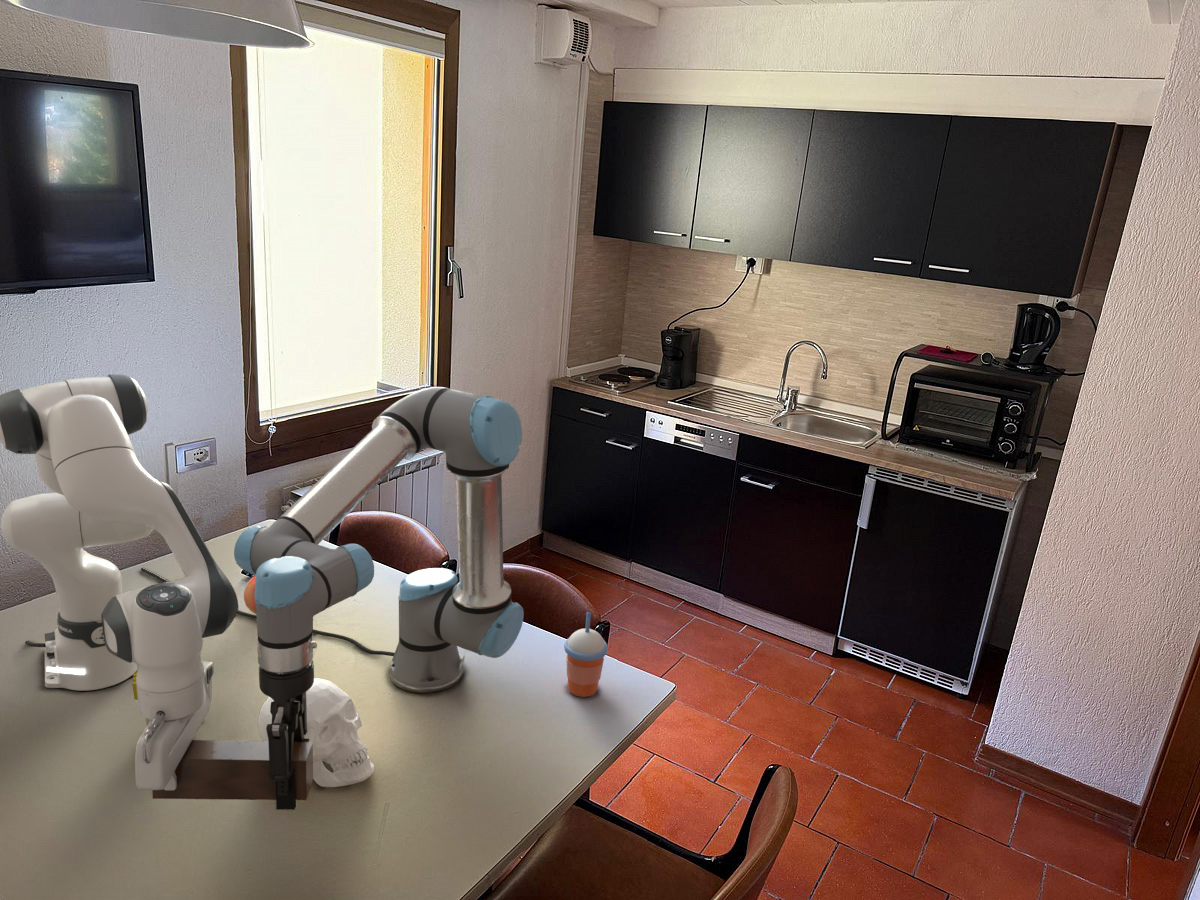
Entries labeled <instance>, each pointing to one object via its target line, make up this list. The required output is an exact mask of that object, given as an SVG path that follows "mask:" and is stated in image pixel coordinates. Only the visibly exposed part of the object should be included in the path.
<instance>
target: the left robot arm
mask: <svg viewBox="0 0 1200 900" xmlns="http://www.w3.org/2000/svg"><path fill="white" fill-rule="evenodd" d="M148 405H149V404H148V400H147V396H146V394H145V392H144V390H143V389H142V387H141V386H140V385H139V383H138V381H137V380H135V378H133V377H131V376H130V375H126V374H108V375H107V376H86V377H78V378H77V377H76V378H70V379H69V378H68V379H67V378H66V379H64V380H62V381H55V382H51V383H45V384H40V385H36V386H31V387H28V388H25V389H22V390H21V389H20V388H17V389H13V390H10V391H9V390H8V391H7V392H4V393H1V394H0V443H1V444H2V445H3V446H4V448H5V450H7V451H8V452H9V451H10V452H12V453H13V454H16V455H17V454H18V455H34V456H35V462H36V466H37V467H36V468H37V471H38V476H39V478H40V480H41V481H42V482H43V484H44V485H45V486H46V487H47V488H48V489H50V490H51V491H52V492H47V493H38V494H33V495H29V496H25V497H22V498H18V499H14V500H12V501H11V502H10V503H9V504H8V505H7V506H6V508H4V509H5V510H4V511H3V512H2V515H1V519H0V530H1V533H2V536H3V538H4V540H5V541H6V543H7V544H8V545H9V546H10V547H11V548H13V549H14V550H15V551H18V552H21V553H23V554H25V555H27V556H28V557H31V558H32V559H33V560H36V561H37V563H39V564H40V565H41V567H43V568H44V569H45V570H46V571H47V573H48V574H49V576H50V577H51V580H52V582H53V586H54V589H55V595H56V599H57V604H58V613H57V618H56V624H57V627H56V629H55V630H54V631H53V632H47V633H44V642H32V641H30V640H28V641H27V640H25V642H24V644H25V645H26V646H29V647H31V648H45V649H44V687H45V688H47V689H66V690H71V691H83V692H85V691H95V690H101V689H104V688H105V689H106V688H109V687H111V686H115V685H117V684H120V683H122V682H124V681H126V680H127V679H129V678H130V677H133V674H135V673H136V672H137V671H138V672H137V678H136V687H137V697H138V700H137V705H138V712H139V714H140V715H141V717H143V718H145V719H146V718H147V719H149V720H151V721H150V722H149V724H148V726H147V725H146V727H145V728H144V730H143V731H142V733H141V734H140V736H139V738H138V740H137V742H136V746H135V753H134V754H135V755H134V773H135V775H134V776H135V786H136V787H137V788H138V789H139V790H140V791H152V790H162V789H164V790H175V789H176V787H177V785H178V783H179V774H175V770H176V767H177V766H178V764H179V762H180V760H181V759H182V757H183V755H184V753H185V752H186V750H187V748H188V746H189V745H190V743H191V741H192V740H196V734H197V732H198V731H199V729H200V727H201V725H202V723H203V722H204V720H205V718H206V717H207V714H208V713H209V711H210V708H211V705H212V700H213V698H212V697H213V681H212V680H213V679H212V677H213V676H214V673H215V665H214V662H213V661H208V660H207V661H206V660H202V658H201V654H202V649H203V639H204V638H210V637H215V636H218V635H219V636H220V635H222V634H224V633H225V632H226V631H227V630H228V628H229V627H230V626H231V625H232V623H233V621H234V620H235V619H236V616H237V615H238V614H237V612H238V610H239V601H238V595H237V593H236V591H235V588H234V586H233V585H232V583H231V581H230V580H229V579H228V577H227V576H226V574H225V573H224V572H223V571H222V569H221V567H220V566H219V565H218V564H217V561H216V560H215V558H214V557H213V555H212V554H211V552H210V549H209V548H208V546H207V544H206V543H205V540H204V539H203V537H202V535H201V534H200V532H199V530H198V528H197V526H196V525H195V523H194V521H193V520H192V518H191V516H190V514H189V512H188V510H187V509H186V507H185V505H184V504H183V502H182V501H181V499H180V497H179V496H178V495H177V493H176V492H175V490H174V489H173V488H172V486H170V484H168V483H166V482H164V481H161V480H158V479H156V478H155V477H154V476H152V475H151V474H150V473H149V472H148V471H147V470H146V469H145V468H144V467H143V466H142V464H141V463H140V461H139V459H138V458H137V455H136V451H135V449H134V447H133V444H132V441H131V439H130V436H129V435H132V434H134V433H136V432H139V431H140V430H141V431H142V429H143V428H144V426H145V425H146V423H147V420H148V419H147V418H148V412H149V411H148V410H149V409H148V408H149V406H148ZM153 531H156V532H157V533H158V534H160V535H161V536H162V537H163V540H164V541H165V543H166V545H167V546H168V547H169V550H170V551H171V553H172V555H173V557H174V558H175V560H176V562H177V564H178V566H179V567H180V569H181V572H182V573H183V577H180V578H177V579H173V580H169V581H168V582H159V583H154V584H151V585H146V586H143V587H139V588H135V589H130V590H128V591H123V582H122V581H123V580H122V573H121V571H120V569H119V568H118V566H117V565H116V564H115V563H113V562H112V561H110V560H108V559H106V558H102V557H99V556H96V555H93V554H91V553H89V552H87V551H86V550H85V548H92V547H102V546H113V545H122V544H126V543H130V542H134V541H138V540H140V539H144V538H147V537H149V536H150V535H151V534H152V532H153Z"/></svg>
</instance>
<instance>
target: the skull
mask: <svg viewBox="0 0 1200 900" xmlns="http://www.w3.org/2000/svg"><path fill="white" fill-rule="evenodd" d="M272 701H274V700H273V699H272V698H271V697H269V696H267V699H266V700H265V701H264V703H263V704H262V706H261V709H260V710H259V715H258V723H257V725H258V734H259V739H260V741H268V735H267V730H266V727H267V724H268V723H269V724H272V714H271V713H270V706H271V702H272ZM306 707H307V733H306V735H304V739H309V742H313V781H314V782H315V783H316V784H317V785H319V787H323V788H338V787H344V786H345V787H346V786H350V785H355V784H358V783H361V782H364V781H366V780H367V779H368V778H370V777H371V776H372V775H373V774H374V771H375V764H374V763H373V762H372V761H371V758H370V757H369V755H368V748H367V746H365V743H364V742H363V741H362V740H361V739H360V738H359V734H358V730H359V729H360V728H362V725H363V724H362V720H361V718H360V714H359V713H358V710H357V708H356V706H355V703H354V701H353V700H352V698H351V696H350V695H348V694H347V693H346V692H345V691H344V690H342V689H341V688H340V687H339V686H337V685H336V684H335V683H334V682H332V681H330V680H328V679H325V678H321V677H320V678H318V677H314V683H313V685H312V686H311V688H310V689H309V690H308V691H306ZM324 763H326V764H328V765H330V768H332V772H331V770H328V769H327V768H326V766H325V764H324Z"/></svg>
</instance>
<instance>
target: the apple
mask: <svg viewBox="0 0 1200 900" xmlns="http://www.w3.org/2000/svg"><path fill="white" fill-rule="evenodd" d="M255 581H256V576H255V575H253V577H251V578H250V579H249V580H248V582H247V583H246V585H245V587H244V590H243V601H244V604H245V607H247V609H248V610H249V611H250V612H252V613H253V614H254V615H256V603H255V598H254V597H255V596H254V592H255Z"/></svg>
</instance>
